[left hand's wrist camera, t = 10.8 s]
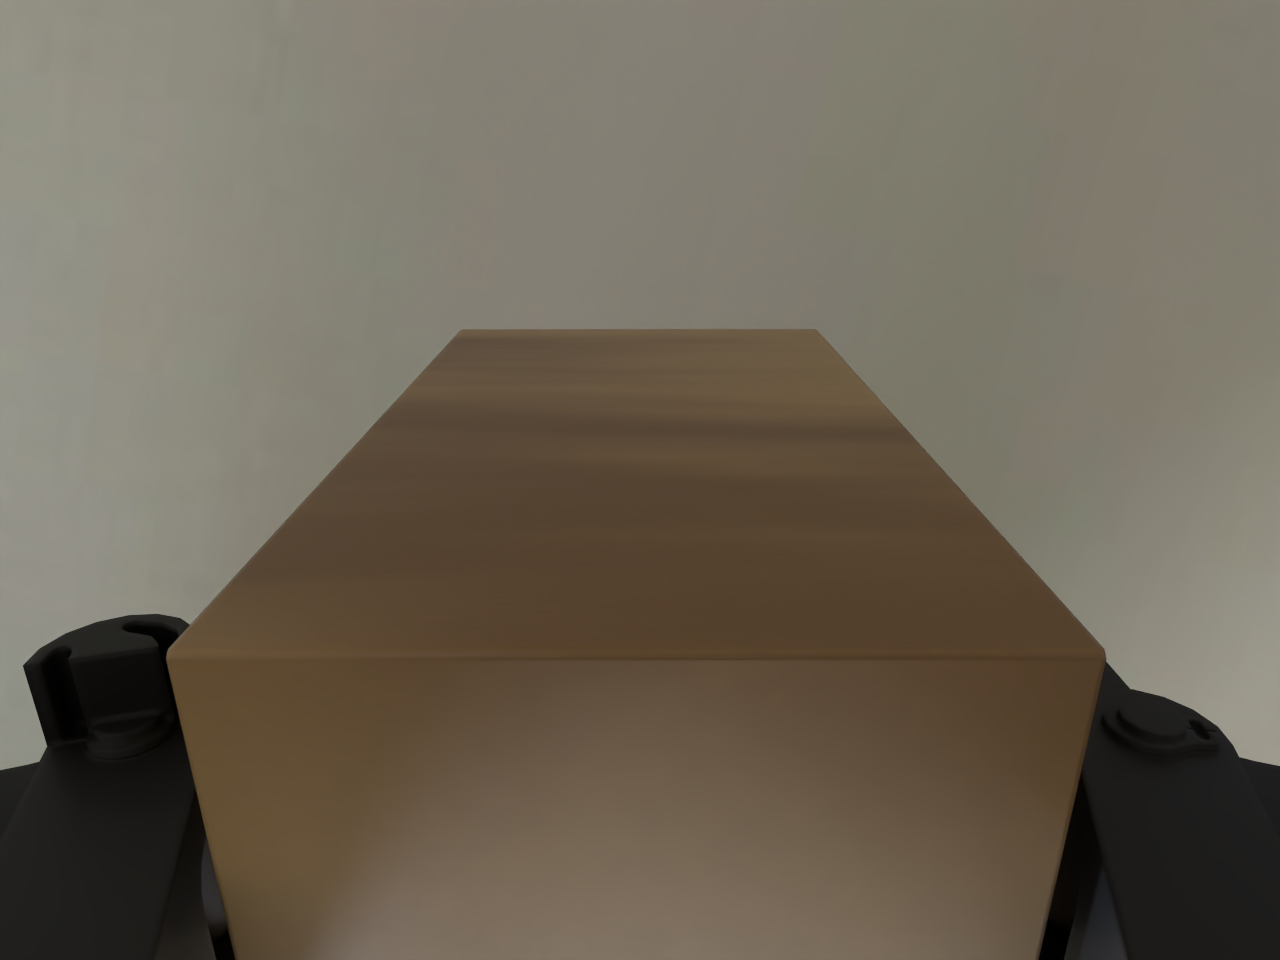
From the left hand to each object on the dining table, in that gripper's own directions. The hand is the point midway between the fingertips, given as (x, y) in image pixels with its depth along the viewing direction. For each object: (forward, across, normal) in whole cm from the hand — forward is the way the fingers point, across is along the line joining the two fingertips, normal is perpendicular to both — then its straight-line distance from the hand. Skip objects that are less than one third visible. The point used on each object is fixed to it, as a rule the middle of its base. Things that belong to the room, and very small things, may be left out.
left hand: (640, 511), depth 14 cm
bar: (+1, 0, -9) cm, 9 cm away
